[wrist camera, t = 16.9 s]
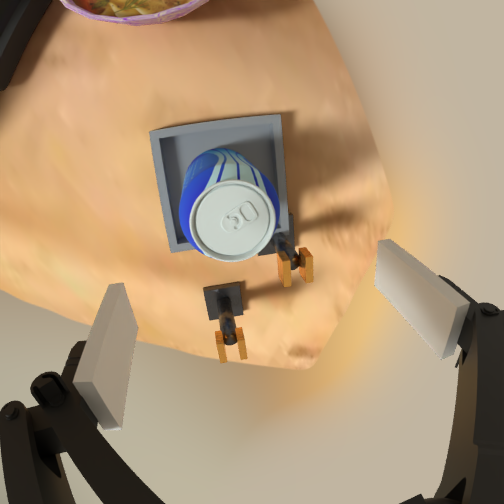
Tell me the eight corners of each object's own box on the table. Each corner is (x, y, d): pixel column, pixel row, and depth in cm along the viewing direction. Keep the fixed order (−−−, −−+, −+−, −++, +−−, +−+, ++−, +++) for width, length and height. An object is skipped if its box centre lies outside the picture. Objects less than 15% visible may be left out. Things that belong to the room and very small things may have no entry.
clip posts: (209, 316, 47) (214, 370, 37) (192, 227, 41) (191, 266, 31) (295, 301, 48) (319, 349, 38) (290, 212, 43) (321, 246, 32)
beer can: (248, 216, 41) (277, 275, 27) (181, 211, 40) (174, 269, 25) (257, 151, 38) (296, 174, 24) (188, 143, 36) (182, 162, 22)
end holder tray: (172, 245, 42) (171, 252, 39) (152, 130, 35) (149, 131, 33) (284, 227, 43) (289, 234, 41) (275, 114, 37) (280, 114, 35)
